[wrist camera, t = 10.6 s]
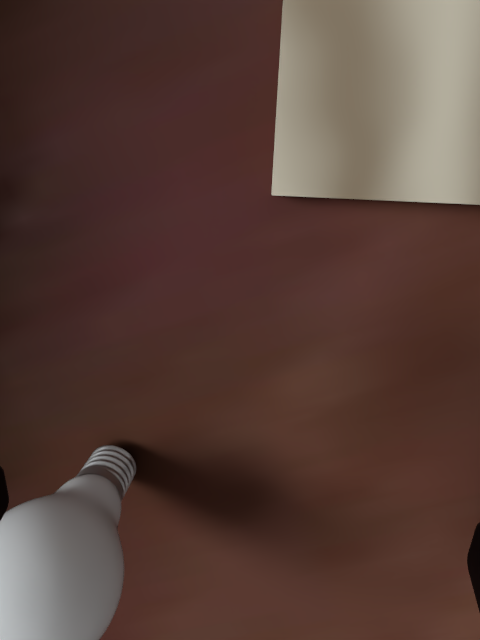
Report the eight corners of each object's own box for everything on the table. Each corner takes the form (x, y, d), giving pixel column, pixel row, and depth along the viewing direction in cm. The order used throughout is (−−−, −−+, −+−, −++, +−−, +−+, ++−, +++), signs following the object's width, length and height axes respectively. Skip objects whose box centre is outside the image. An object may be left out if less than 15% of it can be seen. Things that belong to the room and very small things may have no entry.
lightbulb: (142, 396, 23) (16, 585, 12) (189, 488, 24) (113, 720, 14) (46, 426, 24) (-137, 617, 14) (97, 510, 26) (-32, 736, 16)
